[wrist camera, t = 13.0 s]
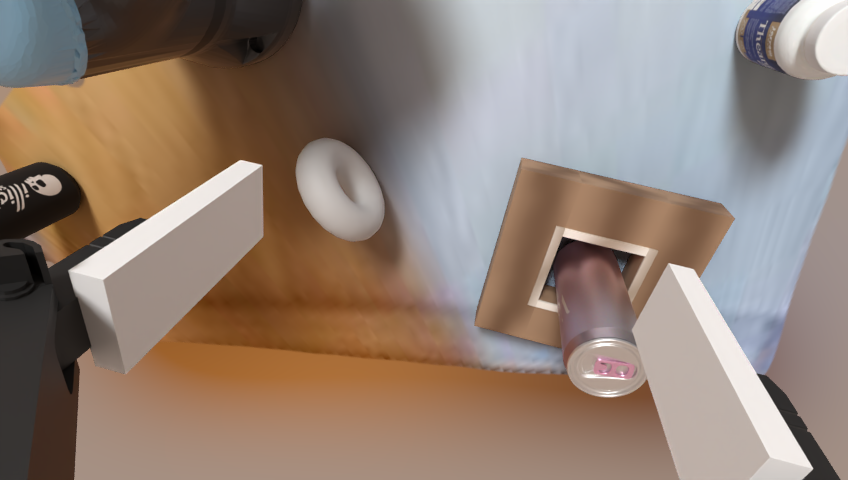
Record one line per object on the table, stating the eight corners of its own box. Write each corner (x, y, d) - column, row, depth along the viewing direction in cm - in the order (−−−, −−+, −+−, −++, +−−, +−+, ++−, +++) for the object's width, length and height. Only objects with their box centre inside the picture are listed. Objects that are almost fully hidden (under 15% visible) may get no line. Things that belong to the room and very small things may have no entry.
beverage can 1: (95, 195, 54) (-7, 245, 43) (68, 220, 56) (-34, 273, 46) (50, 149, 52) (-68, 190, 41) (24, 177, 54) (-93, 222, 44)
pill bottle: (720, 19, 34) (784, 30, 26) (800, -35, 32) (899, -42, 23) (751, 79, 36) (822, 108, 27) (830, 31, 33) (934, 47, 25)
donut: (316, 136, 45) (267, 172, 36) (342, 118, 43) (298, 151, 35) (375, 217, 48) (343, 268, 39) (401, 202, 46) (374, 252, 38)
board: (476, 308, 51) (474, 326, 48) (521, 157, 42) (521, 169, 39) (638, 350, 50) (645, 371, 47) (721, 203, 40) (735, 219, 38)
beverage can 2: (608, 290, 47) (640, 405, 34) (548, 282, 48) (558, 392, 35) (622, 239, 44) (663, 344, 31) (558, 232, 45) (572, 332, 32)
